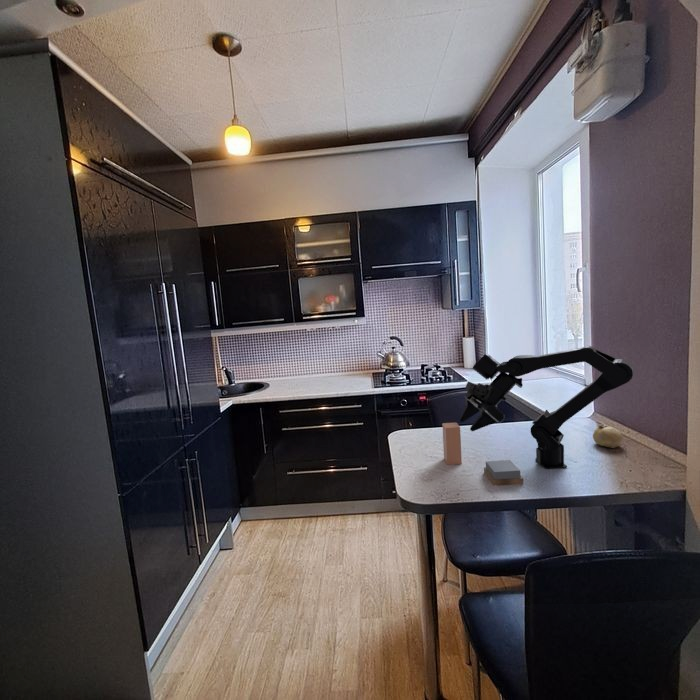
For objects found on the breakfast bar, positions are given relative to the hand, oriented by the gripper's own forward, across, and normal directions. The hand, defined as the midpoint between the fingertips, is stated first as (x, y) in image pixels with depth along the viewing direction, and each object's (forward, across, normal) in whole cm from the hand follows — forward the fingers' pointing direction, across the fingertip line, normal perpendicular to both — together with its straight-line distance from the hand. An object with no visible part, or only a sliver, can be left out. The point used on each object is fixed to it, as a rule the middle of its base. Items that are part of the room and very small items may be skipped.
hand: (465, 425), depth 117 cm
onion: (-25, -1, +42) cm, 49 cm away
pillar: (+11, 0, +5) cm, 12 cm away
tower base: (+5, +14, +12) cm, 19 cm away
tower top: (+3, +14, +10) cm, 18 cm away
